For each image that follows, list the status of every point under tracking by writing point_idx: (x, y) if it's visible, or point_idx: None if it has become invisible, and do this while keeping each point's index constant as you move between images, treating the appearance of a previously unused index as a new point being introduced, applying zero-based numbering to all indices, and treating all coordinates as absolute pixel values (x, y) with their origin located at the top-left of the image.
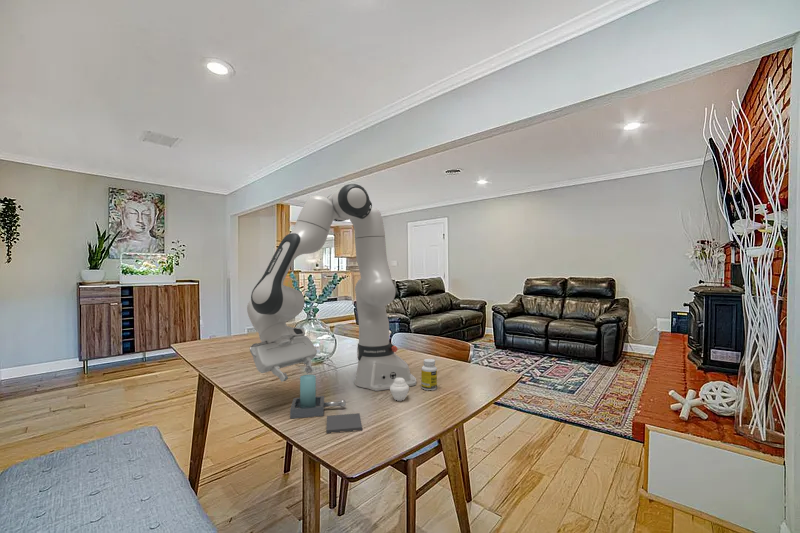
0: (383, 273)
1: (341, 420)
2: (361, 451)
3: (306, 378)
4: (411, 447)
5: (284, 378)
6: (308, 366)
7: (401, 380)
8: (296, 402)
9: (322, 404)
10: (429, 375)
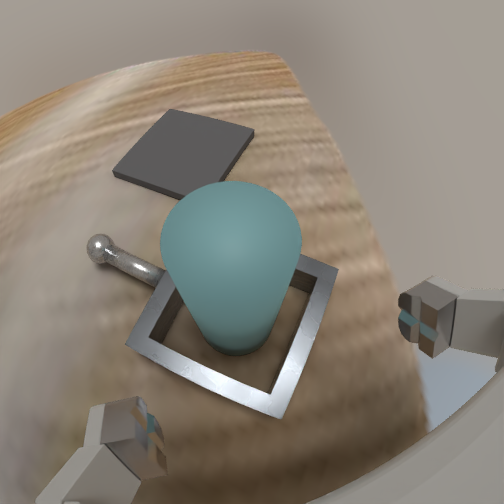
0: None
1: (185, 153)
2: (227, 72)
3: (259, 201)
4: (154, 61)
5: (427, 278)
6: (120, 434)
7: None
8: (273, 385)
9: None
10: None
